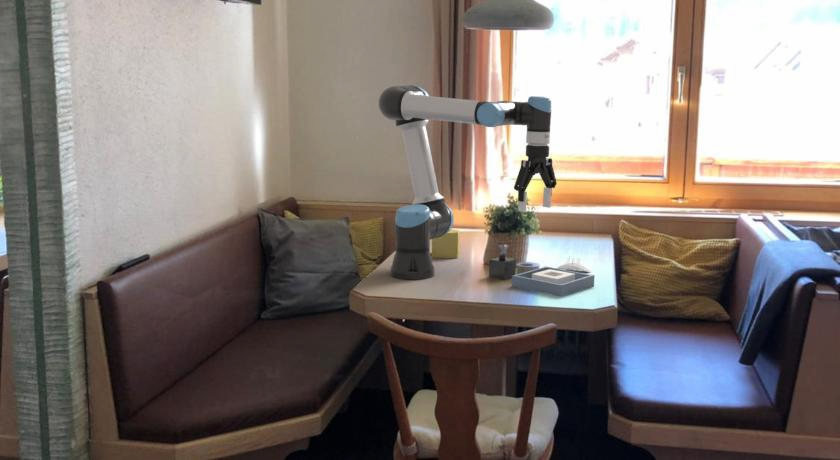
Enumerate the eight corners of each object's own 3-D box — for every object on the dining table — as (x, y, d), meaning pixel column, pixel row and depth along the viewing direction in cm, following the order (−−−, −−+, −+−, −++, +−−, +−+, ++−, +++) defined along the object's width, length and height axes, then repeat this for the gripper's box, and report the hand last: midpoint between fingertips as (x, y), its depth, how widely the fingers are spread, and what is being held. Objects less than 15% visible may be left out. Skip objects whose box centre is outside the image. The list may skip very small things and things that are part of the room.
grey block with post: (503, 279, 288) (504, 248, 286) (488, 276, 293) (489, 245, 291) (515, 276, 293) (516, 245, 291) (500, 273, 297) (501, 242, 295)
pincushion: (591, 271, 303) (592, 255, 302) (589, 274, 297) (590, 258, 296) (557, 268, 306) (557, 253, 305) (554, 272, 301) (555, 256, 300)
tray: (561, 296, 267) (561, 285, 266) (511, 286, 280) (512, 275, 279) (594, 285, 281) (594, 275, 280) (545, 276, 293) (545, 266, 293)
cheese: (459, 253, 332) (460, 227, 330) (458, 259, 321) (458, 232, 319) (433, 252, 333) (433, 227, 331) (430, 258, 322) (430, 232, 320)
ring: (557, 288, 273) (557, 279, 272) (526, 282, 281) (526, 273, 280) (574, 282, 280) (575, 273, 280) (544, 276, 288) (544, 268, 288)
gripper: (523, 147, 268) (520, 214, 272) (569, 143, 286) (565, 206, 290) (504, 145, 273) (501, 211, 277) (550, 141, 291) (547, 203, 295)
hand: (534, 209), depth 284 cm, fingers open, 13 cm apart
